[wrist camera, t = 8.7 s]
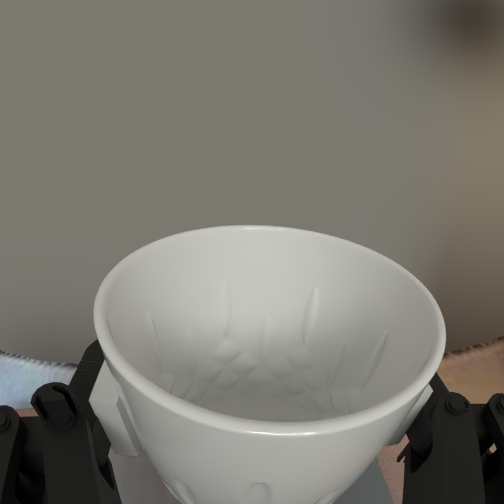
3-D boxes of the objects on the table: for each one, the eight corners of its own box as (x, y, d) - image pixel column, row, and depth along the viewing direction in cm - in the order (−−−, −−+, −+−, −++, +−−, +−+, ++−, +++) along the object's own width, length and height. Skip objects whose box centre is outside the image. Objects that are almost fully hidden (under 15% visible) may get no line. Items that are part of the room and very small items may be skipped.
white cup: (361, 447, 13) (442, 263, 9) (290, 583, 6) (428, 509, 2) (223, 391, 16) (226, 210, 12) (124, 490, 10) (29, 296, 6)
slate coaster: (265, 558, 14) (266, 558, 14) (252, 450, 24) (252, 447, 24) (399, 529, 15) (402, 527, 15) (364, 437, 25) (366, 434, 25)
